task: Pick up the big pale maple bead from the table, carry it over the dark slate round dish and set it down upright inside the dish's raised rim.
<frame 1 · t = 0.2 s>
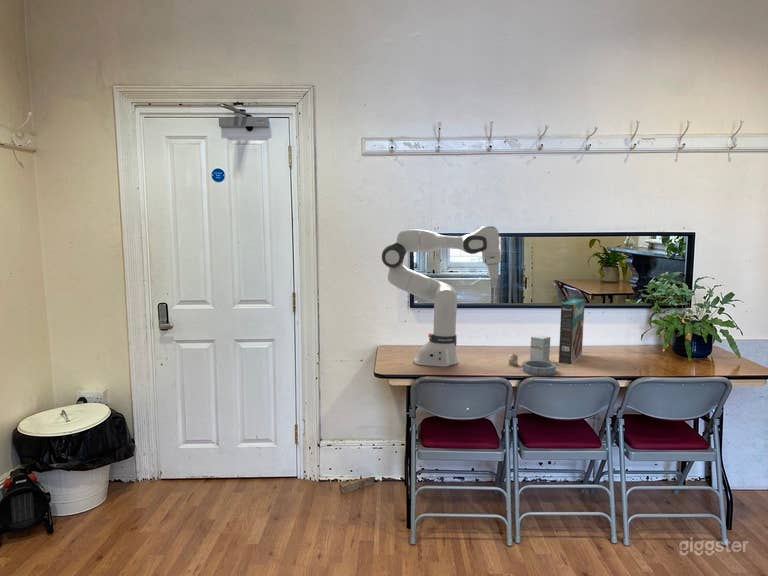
hand: (493, 286, 263), 39 cm above the table, tool pointing down, fingers open, 8 cm apart
cake mix box: (570, 359, 276), on the table
supplement box: (539, 361, 272), on the table
wooden bead: (513, 364, 264), on the table
round dish: (538, 371, 253), on the table
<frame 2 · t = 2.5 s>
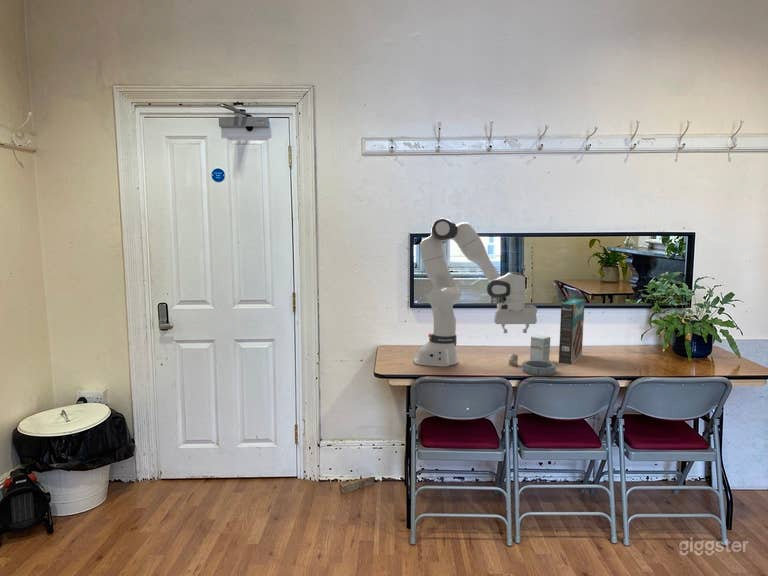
hand: (515, 332, 262), 16 cm above the table, tool pointing down, fingers open, 8 cm apart
nothing on the table moved.
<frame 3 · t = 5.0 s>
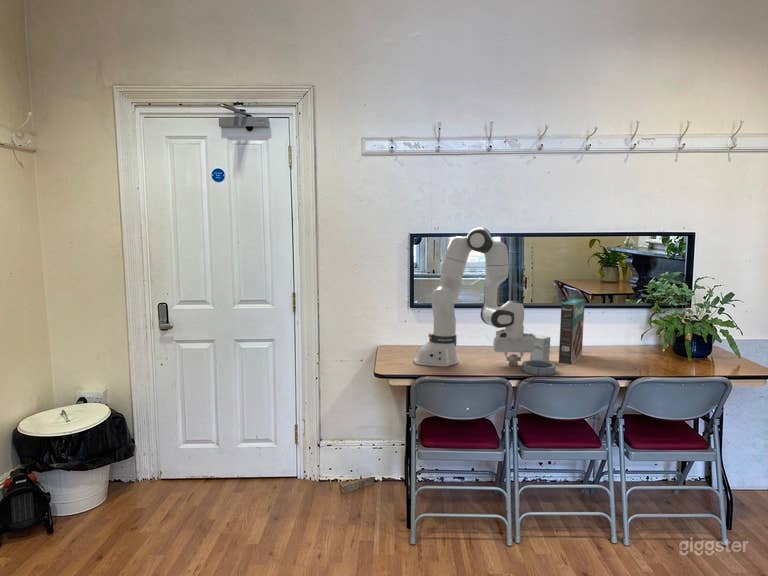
hand: (513, 360, 264), 2 cm above the table, tool pointing down, fingers closed on wooden bead, 4 cm apart
wooden bead: (513, 364, 264), on the table, touching gripper
everything else where it was.
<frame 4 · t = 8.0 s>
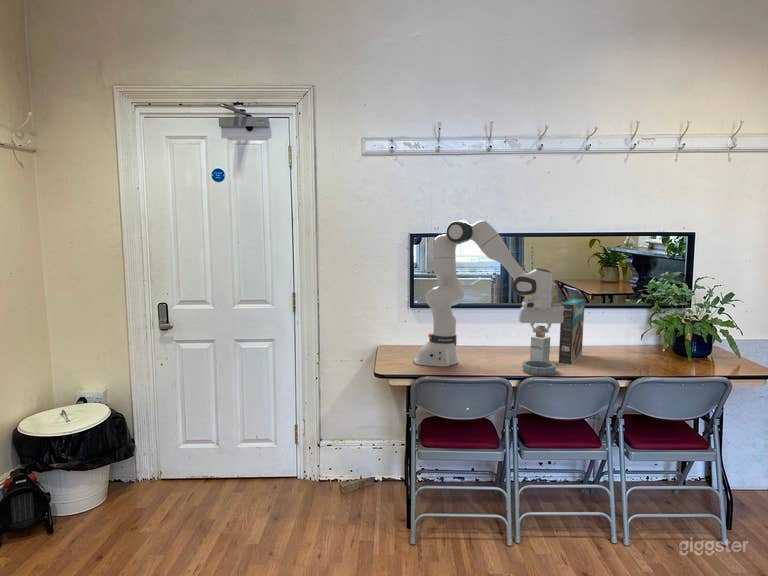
hand: (540, 332, 250), 19 cm above the table, tool pointing down, fingers closed on wooden bead, 4 cm apart
wooden bead: (540, 336, 251), point 17 cm above the table, touching gripper
everything else where it was.
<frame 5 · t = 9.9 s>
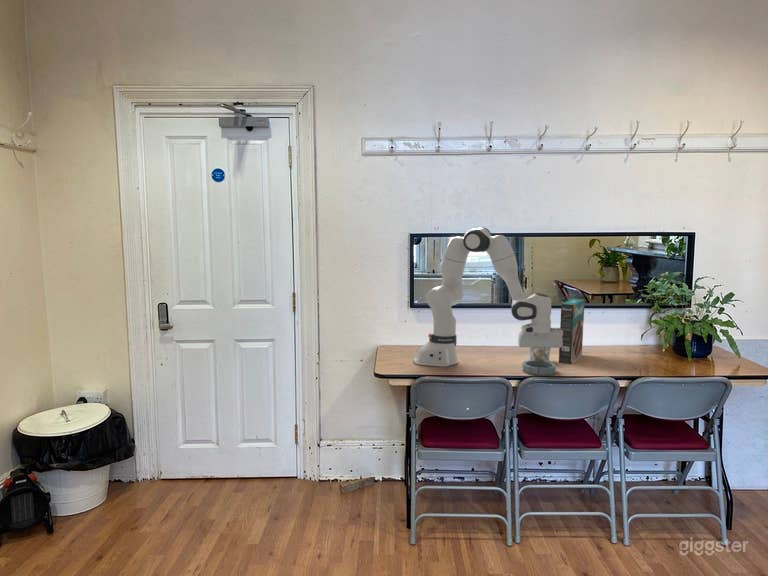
hand: (539, 356, 252), 7 cm above the table, tool pointing down, fingers closed on wooden bead, 4 cm apart
wooden bead: (539, 360, 252), point 5 cm above the table, touching gripper
everything else where it was.
when the fingers open (5 cm above the table, at t = 11.3 s): wooden bead drops 1 cm, resting on round dish.
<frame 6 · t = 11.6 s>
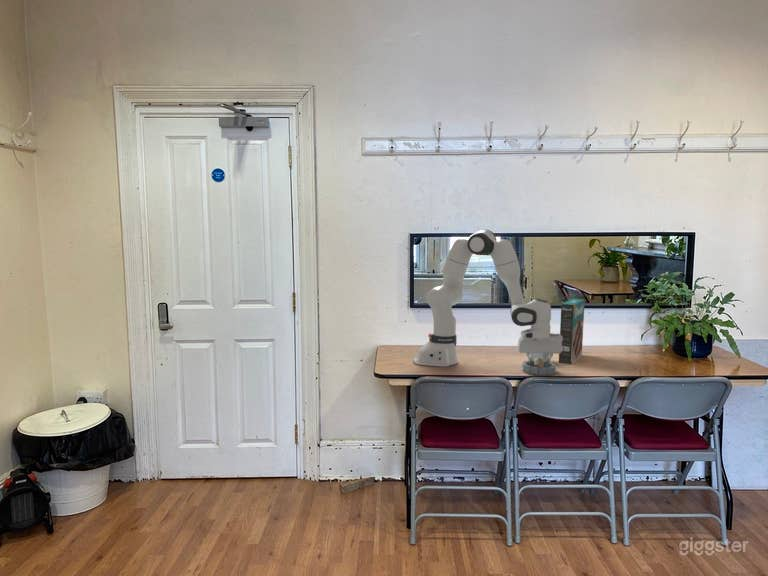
hand: (539, 361, 252), 5 cm above the table, tool pointing down, fingers open, 7 cm apart
wooden bead: (538, 369, 253), point 1 cm above the table, touching round dish
everything else where it was.
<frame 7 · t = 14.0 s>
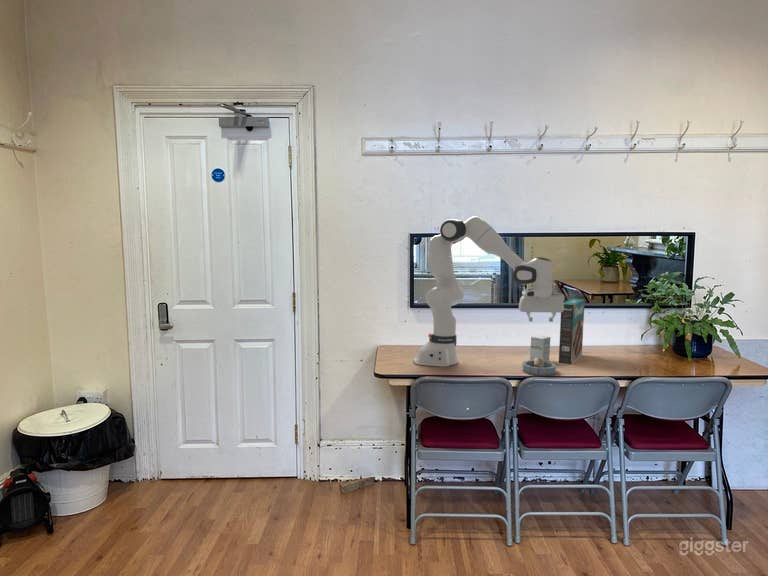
hand: (540, 321, 250), 24 cm above the table, tool pointing down, fingers open, 8 cm apart
nothing on the table moved.
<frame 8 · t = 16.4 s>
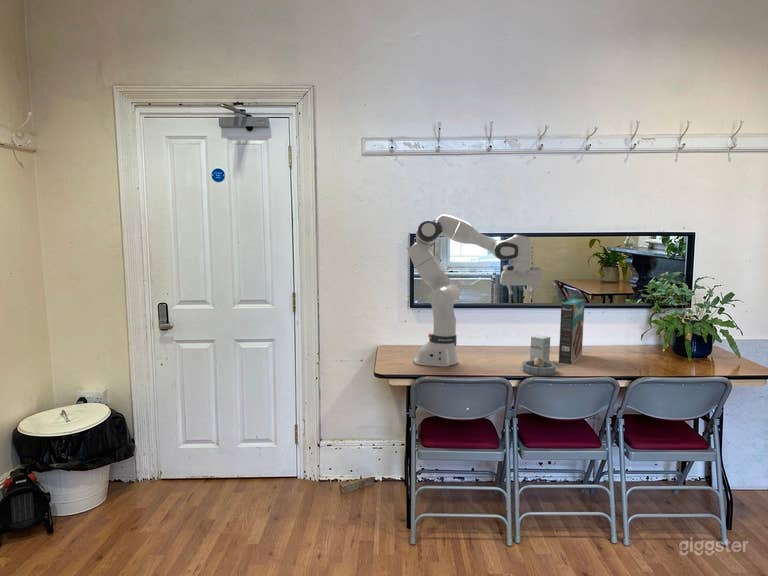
hand: (520, 294, 269), 34 cm above the table, tool pointing down, fingers open, 8 cm apart
nothing on the table moved.
at the end: wooden bead 0.1 cm off-centre on the round dish, point 1.0 cm above the round dish's base; wooden bead tilted 0°; the gripper is holding nothing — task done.
